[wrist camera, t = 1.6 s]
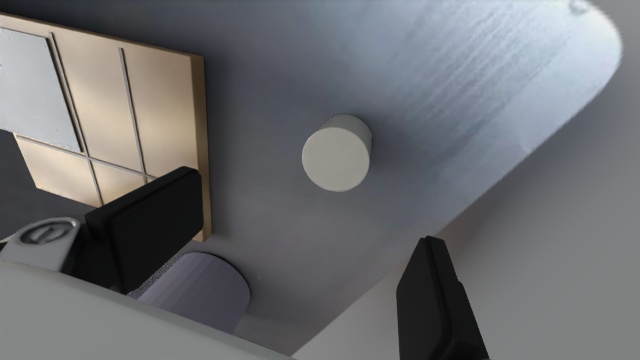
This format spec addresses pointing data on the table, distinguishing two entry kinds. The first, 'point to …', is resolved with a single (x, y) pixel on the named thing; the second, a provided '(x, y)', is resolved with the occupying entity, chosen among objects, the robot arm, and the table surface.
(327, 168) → the white squat cylinder
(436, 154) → the table surface
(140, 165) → the board
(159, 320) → the robot arm
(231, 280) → the container
